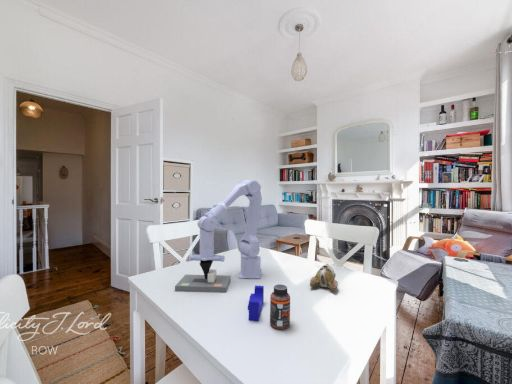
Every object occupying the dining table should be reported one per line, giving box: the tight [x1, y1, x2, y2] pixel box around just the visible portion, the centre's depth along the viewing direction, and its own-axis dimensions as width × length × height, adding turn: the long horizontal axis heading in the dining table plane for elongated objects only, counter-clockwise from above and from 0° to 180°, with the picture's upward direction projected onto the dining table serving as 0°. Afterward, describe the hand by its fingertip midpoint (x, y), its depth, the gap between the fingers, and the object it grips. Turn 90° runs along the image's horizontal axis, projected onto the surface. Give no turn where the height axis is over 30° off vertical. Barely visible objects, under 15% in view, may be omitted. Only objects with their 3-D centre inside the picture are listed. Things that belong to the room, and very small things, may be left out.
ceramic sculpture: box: [309, 263, 338, 291], centre depth 98 cm, size 11×9×15 cm
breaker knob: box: [208, 268, 217, 283], centre depth 97 cm, size 2×5×4 cm, turn 178°
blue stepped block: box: [247, 285, 265, 322], centre depth 78 cm, size 12×4×6 cm, turn 171°
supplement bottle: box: [269, 283, 291, 330], centre depth 70 cm, size 6×6×11 cm
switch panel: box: [174, 274, 231, 293], centre depth 97 cm, size 20×12×2 cm, turn 88°
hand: (206, 278), depth 97 cm, fingers closed
